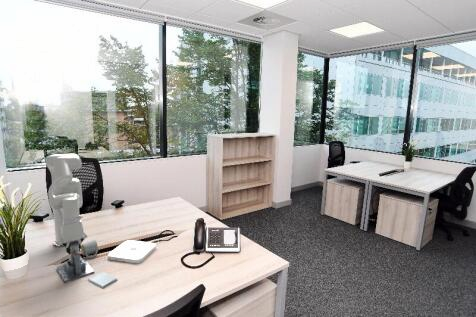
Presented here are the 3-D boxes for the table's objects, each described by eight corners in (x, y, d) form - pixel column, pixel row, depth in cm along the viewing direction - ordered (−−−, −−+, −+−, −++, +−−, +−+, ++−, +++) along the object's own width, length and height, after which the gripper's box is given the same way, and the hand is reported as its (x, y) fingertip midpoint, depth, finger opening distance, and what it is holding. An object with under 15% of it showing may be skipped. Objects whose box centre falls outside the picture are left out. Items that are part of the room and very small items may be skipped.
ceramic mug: (80, 253, 170) (79, 241, 169) (94, 249, 176) (94, 238, 174) (85, 260, 163) (85, 248, 161) (100, 255, 168) (99, 244, 167)
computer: (139, 264, 160) (139, 260, 160) (105, 259, 165) (105, 255, 164) (157, 247, 182) (157, 243, 181) (127, 243, 186) (127, 239, 185)
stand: (56, 268, 153) (54, 248, 151) (84, 260, 163) (83, 240, 161) (64, 283, 140) (62, 261, 139) (94, 272, 150) (93, 252, 148)
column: (69, 267, 152) (67, 241, 150) (77, 264, 155) (75, 238, 153) (72, 271, 148) (70, 244, 146) (80, 268, 151) (78, 242, 148)
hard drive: (117, 278, 144) (102, 271, 150) (102, 286, 137) (87, 278, 143) (117, 281, 144) (102, 273, 150) (103, 289, 137) (88, 281, 143)
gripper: (86, 214, 156) (88, 244, 158) (51, 221, 144) (54, 254, 147) (90, 218, 150) (92, 249, 153) (54, 226, 139) (57, 260, 141)
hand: (73, 251), depth 150 cm, fingers closed on column, 4 cm apart
